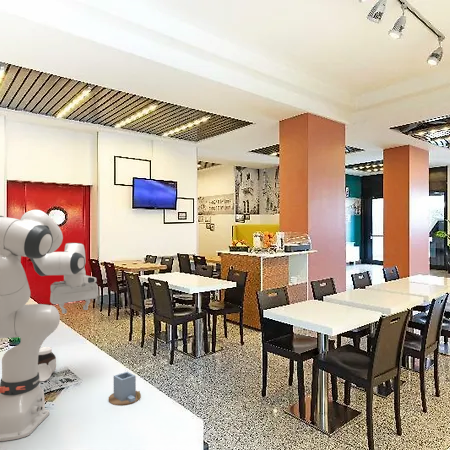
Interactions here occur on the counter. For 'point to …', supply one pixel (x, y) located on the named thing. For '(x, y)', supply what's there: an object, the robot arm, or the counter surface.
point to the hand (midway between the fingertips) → (75, 311)
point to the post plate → (126, 402)
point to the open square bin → (125, 386)
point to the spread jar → (46, 363)
